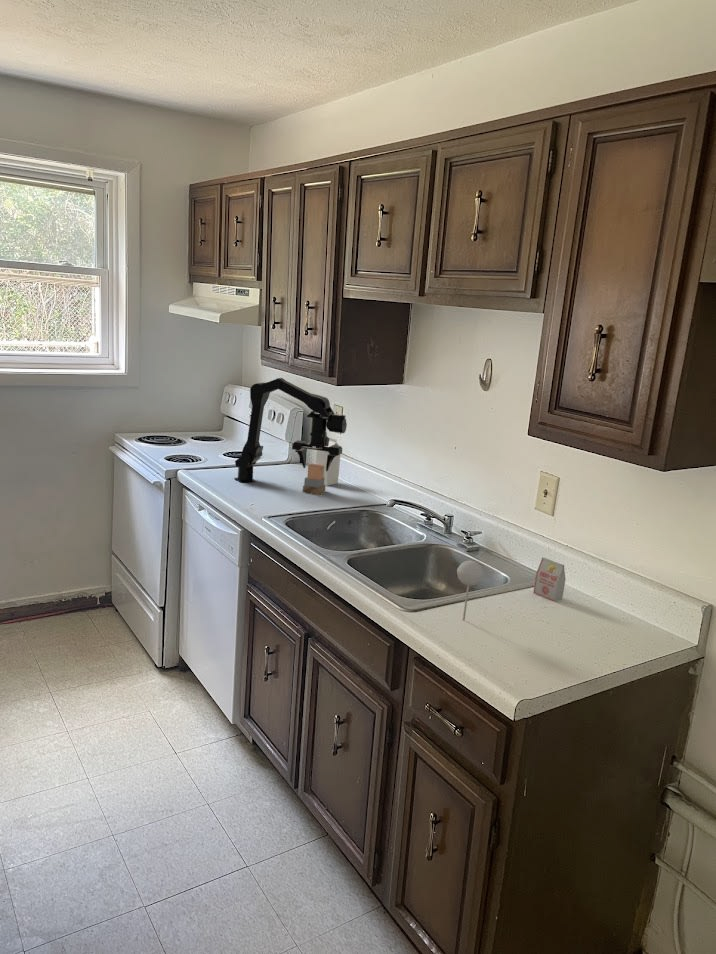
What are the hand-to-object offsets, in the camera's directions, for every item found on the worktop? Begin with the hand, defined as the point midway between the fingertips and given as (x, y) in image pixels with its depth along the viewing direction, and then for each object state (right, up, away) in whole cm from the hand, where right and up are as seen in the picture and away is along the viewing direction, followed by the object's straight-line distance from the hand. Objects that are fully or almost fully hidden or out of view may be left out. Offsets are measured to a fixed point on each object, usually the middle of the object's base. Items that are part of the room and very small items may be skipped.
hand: (315, 469), depth 278 cm
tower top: (-1, -6, +1) cm, 6 cm away
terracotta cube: (0, -3, +1) cm, 3 cm away
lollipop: (+42, -38, -106) cm, 120 cm away
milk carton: (+3, -6, +17) cm, 19 cm away
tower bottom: (-1, -9, +2) cm, 9 cm away
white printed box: (+68, -35, -85) cm, 114 cm away
